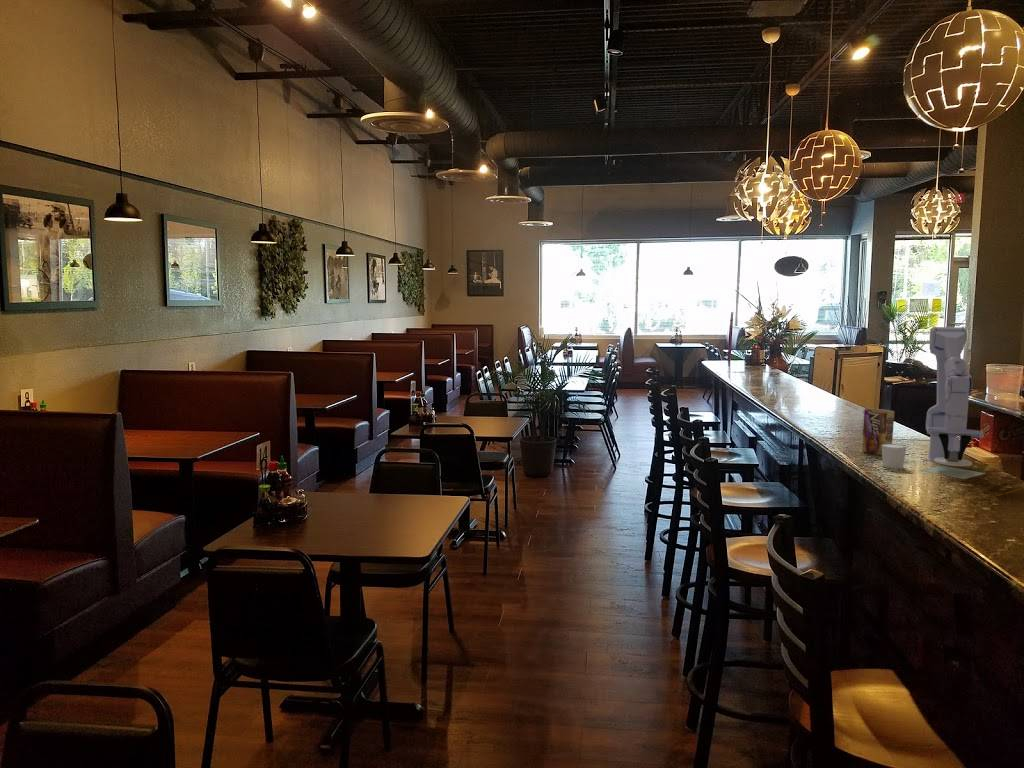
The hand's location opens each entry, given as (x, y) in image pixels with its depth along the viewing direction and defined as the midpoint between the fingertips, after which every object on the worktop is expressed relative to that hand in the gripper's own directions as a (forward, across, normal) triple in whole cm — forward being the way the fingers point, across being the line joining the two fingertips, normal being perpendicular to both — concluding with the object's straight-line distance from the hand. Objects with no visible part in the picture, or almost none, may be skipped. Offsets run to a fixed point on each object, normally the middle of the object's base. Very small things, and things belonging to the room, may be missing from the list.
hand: (952, 459), depth 224 cm
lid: (+1, 0, 0) cm, 1 cm away
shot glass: (+4, -16, 0) cm, 17 cm away
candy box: (+5, -21, +22) cm, 31 cm away
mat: (+4, 0, 0) cm, 4 cm away
